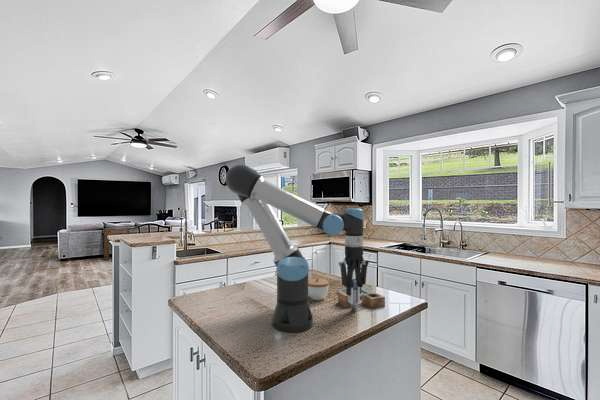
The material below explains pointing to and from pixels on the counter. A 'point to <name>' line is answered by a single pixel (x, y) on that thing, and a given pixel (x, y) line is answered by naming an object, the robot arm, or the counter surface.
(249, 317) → the counter surface
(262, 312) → the counter surface
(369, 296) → the block
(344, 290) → the tray
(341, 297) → the block
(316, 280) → the lidded jar
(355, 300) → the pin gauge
